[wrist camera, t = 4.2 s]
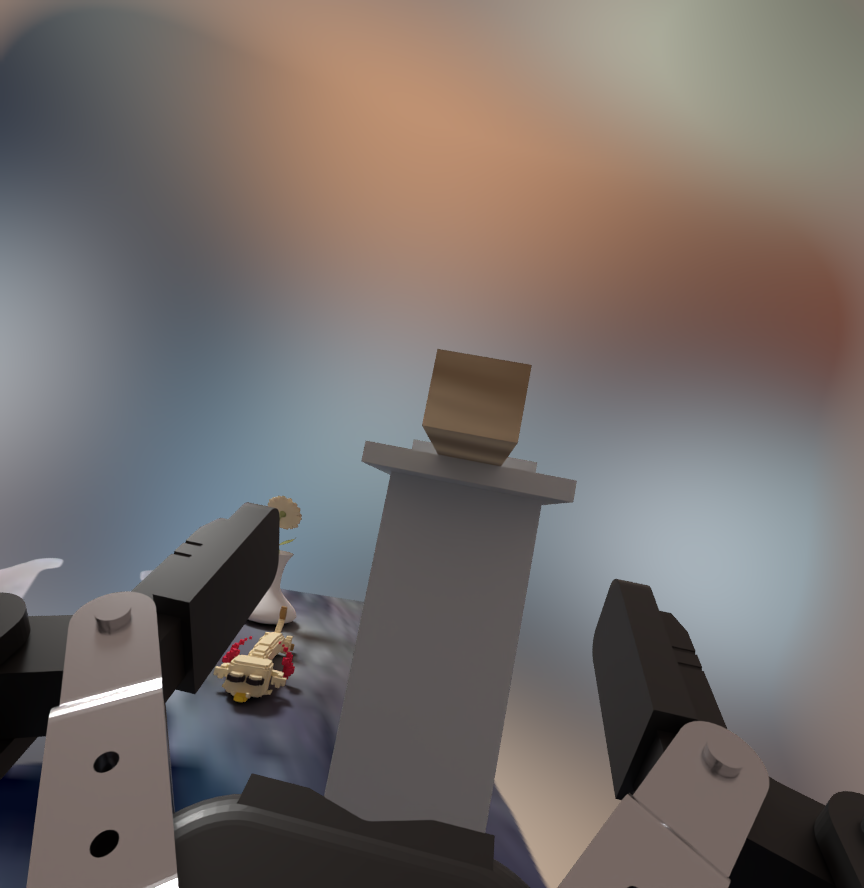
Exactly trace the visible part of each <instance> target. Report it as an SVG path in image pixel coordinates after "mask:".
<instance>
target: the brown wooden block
mask: <svg viewBox="0 0 864 888" xmlns="http://www.w3.org/2000/svg"><path fill="white" fill-rule="evenodd" d="M530 371H531V365H528V364H523V363H517V362H510V361H505V360H499V359H493V358H488V357H482V356H476V355H470V354H464V353H458V352H452V351H447V350H440V349H438V350H437V354H436V359H435V365H434V369H433V374H432V379H431V384H430V389H429V394H428V400H427V404H426V409H425V414H424V419H423V424H422V426H423V428H424V430H425V431H426V433H427V435H428V437H429V439H430V440H431V443H432V444H433V446H434V448H435V450H436V452H437V454H439V455H444V456H449V457H455V458H460V459H465V460H470V461H476V462H481V463H486V464H491V465H497V466H502V464H503V463H504V461H505V460H506V459H507V457H508V456H509V454H510V453H511V451H512V450H513V449H514V447H515V446H516V445H517V443H518V438H519V432H520V427H521V421H522V416H523V410H524V405H525V399H526V393H527V388H528V382H529V376H530Z"/></svg>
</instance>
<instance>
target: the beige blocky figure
mask: <svg viewBox="0 0 864 888" xmlns="http://www.w3.org/2000/svg"><path fill="white" fill-rule="evenodd" d="M286 614H287V607H285V606H282V607H281V609H280V615H279V616H280V618H279V621H278V623H277V626H276V629H275V632H272V633H270V632H266V633H265V635H264V636H263V637H262V638H260V639H259V642H258V643H257V644H256V645H255V646H254V648H253V649H252V650H251V651H250V652H249V655H248V656H246V655H239V653H240V650H239V649H238V648H239V645H241V644H242V645H244V641H247V638H245V640H242V639H240V642H239V643H235V645H232V647H231V650H230V652H227V654H226V655H225V656H224V657H223V659H222V662H224V663H223V664H222V665H221V667H217V666H216V667H215V670H214V674H213V675H218V677H217V678H221V679H222V678H223V676H224V677H226V680H225V682H224V684H222V687H224V689H226V691H227V692H228V693H231V694H232V695H233V696H234V699H233V700H235V701H237V702H246V701H247V699H248V698H250V697H251V696H252V697H261V696H262V695H270V694H271V693H272V690H268V687H269V682H270V678H271V676H273V677H272V680H271V684H272V685H275V688H279V687H280V686H285V682H286V679H288V676H291V674H293V673H294V668H295V667H294V666H293V663H291V662H292V658H293V655H291V652H289V651H293V649H294V644H291V642H292V637H293V636H287V637H286V640H285V638H284V636H282V634H281V631H282V628H283V625H284V623H285V619H286ZM249 639H252V637H251V636H250V637H249ZM279 652H281V653H285V654H286V658H285V657H283V660H282V665H284V667H283V673H282V672H279V671H277V670H272V669H273V665H274V663H272V661H271V660H272V659H273V658H274V657H275V656H276V655H277V654H278V653H279ZM283 675H284V676H283Z"/></svg>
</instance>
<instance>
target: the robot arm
mask: <svg viewBox="0 0 864 888" xmlns="http://www.w3.org/2000/svg"><path fill="white" fill-rule="evenodd" d="M279 525H280V515H279V511H278V509H277V508H273V507H268V506H263V505H258V504H253V503H249V502H247V503H244V504H243V505H242V506H241V507H240V508H239V509H238V510H237V511H236V512H235V513H234V514H233V515H232V516H231V517H230V518H229V519H224V518H219V519H217V520H214V521H212V522H210V523H208V524H206V525H204V526H202V527H200V528H199V529H198V530H197V531H195V532H194V533H193V534H192V535H191V536H190V537H189V538H188V539H187V540H186V542H185V543H183V544H181V545H180V547H178V548H177V549H176V550H175V551H174V554H171V555H170V556H169V557H167V559H165V560H164V561H163V562H162V563H161V564H160V565H159V566H158V567H157V568H156V569H155V570H153V571H152V572H151V573H150V574H149V575H148V576H147V577H146V578H145V579H144V580H143V581H142V582H141V583H139V585H137V586H136V587H135V588H134V589H133V590H132V591H131V592H117V593H111V594H107V595H104V596H101V597H98V598H96V599H94V600H92V601H90V602H88V603H87V604H85V605H84V606H82V607H81V608H80V609H79V610H78V611H76V613H75V614H74V615H62V616H28V613H27V609H26V605H25V602H24V601H23V599H22V598H20V597H19V596H17V595H14V594H10V593H0V780H1V778H2V777H3V776H4V775H5V774H6V773H7V772H8V770H9V769H10V768H11V767H12V766H13V765H14V764H15V762H16V761H17V760H18V759H19V758H20V757H21V756H22V754H23V753H24V752H25V751H26V750H27V749H28V748H29V746H30V745H31V744H32V743H33V742H34V741H35V740H36V738H37V737H42V736H46V742H45V750H44V757H43V765H42V772H41V780H40V788H39V795H38V803H37V811H36V818H35V826H34V834H33V842H32V849H31V857H30V865H29V872H28V880H27V888H530V887H529V886H528V885H527V884H526V883H525V882H524V881H523V880H522V879H521V878H519V877H518V876H517V875H516V874H515V873H513V872H512V871H511V870H509V869H508V868H507V867H505V866H504V865H503V864H501V863H499V862H498V861H496V860H494V859H493V857H494V835H490V834H486V833H482V832H478V831H475V830H471V829H467V828H463V827H459V826H455V825H451V824H447V823H443V822H439V821H436V820H406V821H366V820H363V819H361V818H359V817H357V816H356V815H354V814H352V813H351V812H349V811H347V810H346V809H344V808H342V807H340V806H339V805H337V804H335V803H334V802H332V801H330V800H329V799H327V798H325V797H324V796H322V795H320V794H318V793H317V792H315V791H313V790H312V789H310V788H307V787H303V786H299V785H295V784H291V783H287V782H283V781H279V780H276V779H272V778H268V777H264V776H260V775H256V774H251V776H250V778H249V780H248V782H247V784H246V786H245V788H244V790H243V792H242V794H233V795H226V796H220V797H215V798H212V799H208V800H204V801H201V802H199V803H196V804H193V805H191V806H188V807H186V808H184V809H182V810H180V811H178V812H176V813H175V808H174V798H173V786H172V775H171V763H170V751H169V739H168V728H167V716H166V705H165V703H166V701H167V700H168V699H169V697H170V696H171V695H172V693H173V692H174V691H175V689H176V690H180V691H184V692H188V693H192V694H196V692H197V691H198V689H199V688H200V687H201V685H202V684H203V682H204V681H205V680H206V678H207V677H208V675H209V674H210V672H211V671H212V670H213V668H214V667H215V665H216V664H217V662H218V661H219V660H220V658H221V657H222V655H223V654H224V652H225V651H226V650H227V648H228V647H229V645H230V644H231V642H232V641H233V640H234V638H235V637H236V635H237V634H238V632H239V631H240V630H241V628H242V627H243V625H244V624H245V623H246V621H247V620H248V618H249V617H250V615H251V614H252V613H253V611H254V610H255V608H256V607H257V605H258V604H259V603H260V601H261V600H262V598H263V597H264V595H265V594H266V593H267V591H268V590H269V588H270V587H271V585H272V583H273V581H274V579H275V576H276V573H277V569H278V563H279ZM593 663H594V669H595V675H596V681H597V687H598V694H599V700H600V706H601V712H602V718H603V724H604V730H605V736H606V743H607V748H608V755H609V761H610V767H611V773H612V779H613V785H614V791H615V797H616V799H619V800H622V801H621V802H620V803H619V805H618V806H617V808H616V809H615V810H614V812H613V813H612V814H611V816H610V817H609V818H608V820H607V821H606V822H605V824H604V825H603V827H602V828H601V829H600V831H599V832H598V833H597V835H596V836H595V838H594V839H593V840H592V841H591V843H590V844H589V846H588V847H587V848H586V850H585V851H584V852H583V854H582V855H581V856H580V858H579V859H578V860H577V862H576V864H575V865H574V866H573V867H572V869H571V870H570V871H569V873H568V874H567V875H566V877H565V878H564V879H563V881H562V882H561V883H560V885H559V886H558V888H864V795H862V794H860V793H855V792H848V791H843V792H838V793H836V794H834V795H833V796H832V797H831V798H830V800H829V801H828V803H827V804H826V806H825V805H823V804H821V803H819V802H817V801H815V800H813V799H811V798H809V797H807V796H805V795H802V794H801V793H799V792H797V791H795V790H793V789H791V788H789V787H787V786H785V785H783V784H781V783H779V782H777V781H775V780H774V779H772V778H770V777H769V776H768V773H767V770H766V768H765V766H764V764H763V762H762V761H761V759H760V758H759V757H758V755H757V754H756V753H755V751H754V750H753V749H752V748H751V747H750V746H749V745H748V744H747V743H746V742H744V741H743V740H742V739H741V738H740V737H738V736H737V735H736V734H734V733H732V732H731V731H729V730H727V727H726V725H725V723H724V720H723V717H722V715H721V713H720V710H719V708H718V705H717V703H716V700H715V698H714V695H713V693H712V691H711V688H710V686H709V683H708V681H707V678H706V676H705V674H704V671H702V666H701V664H700V661H699V659H698V656H697V655H695V649H694V646H693V644H692V641H691V639H690V637H689V634H688V632H687V631H686V630H685V628H684V627H683V626H682V625H681V624H680V623H679V622H678V620H677V619H676V618H675V617H674V616H673V615H672V614H671V613H667V612H663V611H659V609H658V606H657V604H656V601H655V598H654V596H653V592H652V590H651V588H650V586H648V585H643V584H638V583H633V582H629V581H624V580H618V579H614V580H613V581H612V583H611V585H610V588H609V591H608V594H607V597H606V600H605V603H604V606H603V609H602V612H601V615H600V618H599V621H598V624H597V627H596V630H595V634H594V639H593Z"/></svg>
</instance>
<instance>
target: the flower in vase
mask: <svg viewBox="0 0 864 888" xmlns="http://www.w3.org/2000/svg"><path fill="white" fill-rule="evenodd" d="M269 502H270V503H268V507H273V508H277V509H278V511H279V515H280V525H279V527H280V528H283V529H288V528H290V529H293V528H297V527H298V524H299V523H300V520H301V519H302V518H301V516H302V515H301V514H300V508H298V507H297V504H296V503H293V502H292V499H291V498H289V499H287V498H286V497H285V496H282V497H281V496H278V497H275V498H274V497H273V498H272V499H270V500H269ZM293 540H294V539H293ZM293 540H287V541H285V542H282V543H281V544H279V545H282V544H286V543H289V542H291V541H293ZM293 555H294V554H292V553H290V552H286V551H280V550H279V563H278V569H277V573H276V576H275V579H274V581H273V583H272V585H271V587H270V588H269V590H268V591H267V593H266V594H265V595H264V597H263V598H262V600H261V601H260V603H259V604H258V605H257V607H256V608H255V610H254V611H253V613H252V614H251V615H250V617H249V618H248V619H249V620H251V621H254V622H258V623H264V624H277V623H278V621H279V618H280V616H279V615H280V609H281V607H282V606H285V607H287V614H286V619H285V623H289V622H292V621H293V620H294V619H295V618H296V612H295V610H294V608H293V607H292V605H291V604H290V603H289V602H288V600H287V599H286V598H285V597H284V596H283V594H282V593H281V590H280V582H281V577H282V573H283V570H284V568H285V566H286V563H287V562H288V560H289V559H290V558H291V557H292V556H293ZM285 623H284V624H285Z"/></svg>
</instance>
